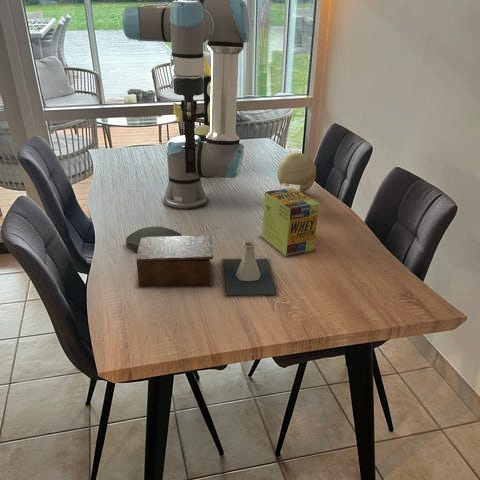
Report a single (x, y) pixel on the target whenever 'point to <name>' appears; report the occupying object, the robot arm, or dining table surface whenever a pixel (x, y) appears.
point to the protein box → (290, 221)
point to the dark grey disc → (148, 235)
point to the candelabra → (206, 128)
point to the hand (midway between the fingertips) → (190, 172)
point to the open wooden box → (174, 273)
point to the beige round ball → (297, 171)
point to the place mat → (247, 287)
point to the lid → (175, 248)
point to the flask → (248, 264)
